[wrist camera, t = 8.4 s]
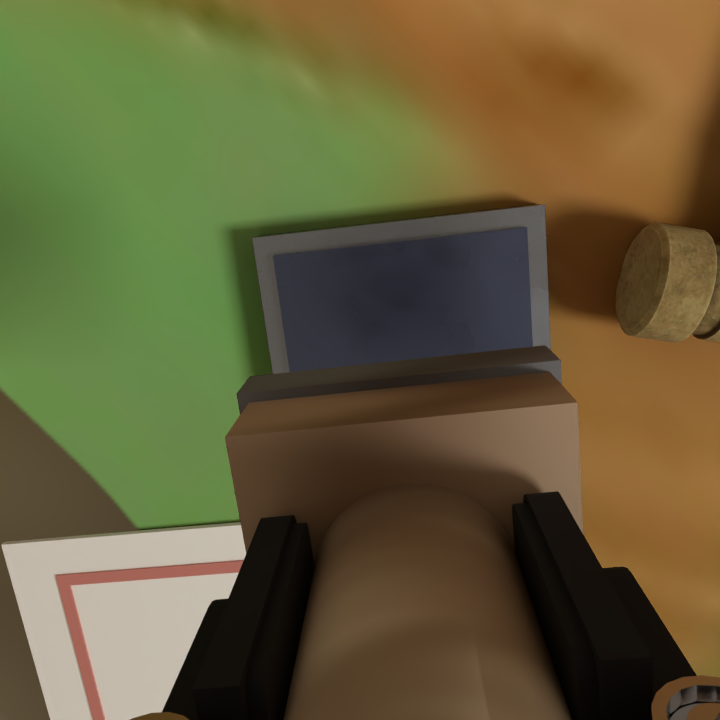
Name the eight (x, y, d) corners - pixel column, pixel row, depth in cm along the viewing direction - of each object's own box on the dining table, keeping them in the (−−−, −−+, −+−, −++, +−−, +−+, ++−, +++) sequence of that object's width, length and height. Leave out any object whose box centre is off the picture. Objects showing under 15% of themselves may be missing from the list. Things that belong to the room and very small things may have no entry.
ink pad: (538, 204, 27) (546, 204, 26) (547, 426, 30) (555, 439, 28) (257, 236, 28) (250, 238, 27) (290, 450, 30) (285, 463, 29)
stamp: (544, 345, 13) (1016, 799, 3) (559, 608, 14) (911, 1471, 5) (250, 376, 13) (-125, 858, 4) (292, 628, 15) (104, 1456, 5)
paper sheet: (320, 515, 31) (319, 519, 31) (355, 765, 35) (355, 771, 35) (4, 541, 32) (-1, 545, 32) (71, 781, 36) (68, 787, 36)
